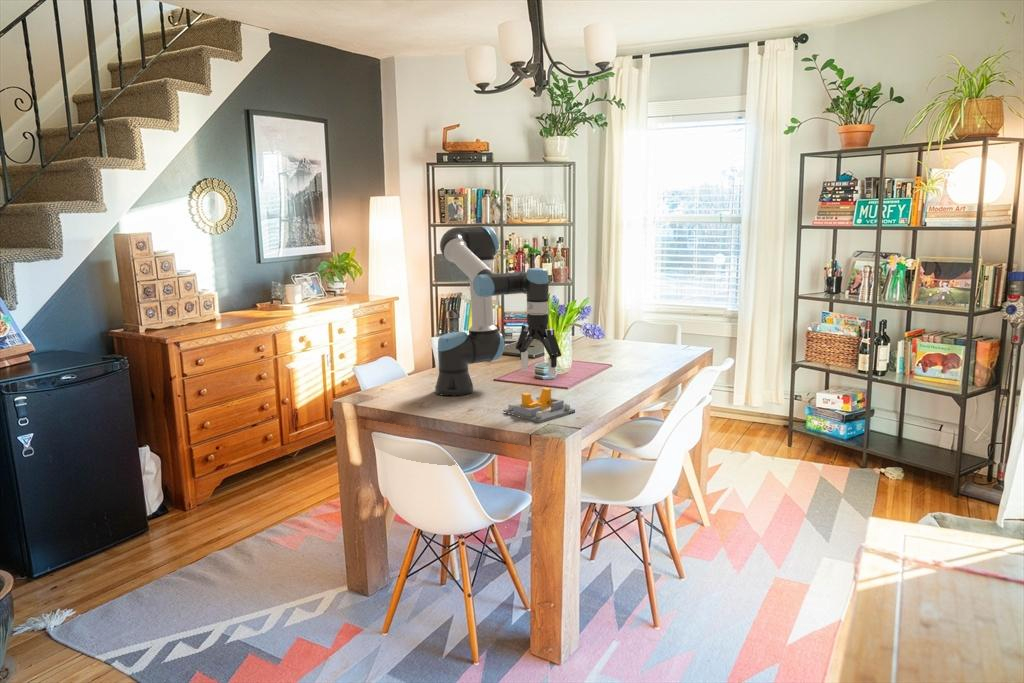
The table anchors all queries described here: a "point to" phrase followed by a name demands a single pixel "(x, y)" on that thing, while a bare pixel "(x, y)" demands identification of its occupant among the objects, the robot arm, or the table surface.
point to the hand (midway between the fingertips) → (538, 373)
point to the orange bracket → (543, 400)
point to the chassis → (537, 414)
